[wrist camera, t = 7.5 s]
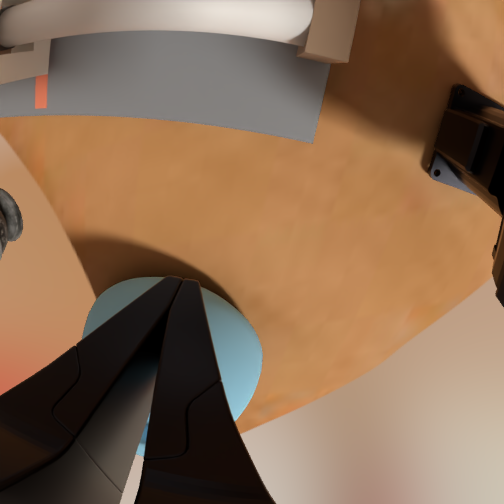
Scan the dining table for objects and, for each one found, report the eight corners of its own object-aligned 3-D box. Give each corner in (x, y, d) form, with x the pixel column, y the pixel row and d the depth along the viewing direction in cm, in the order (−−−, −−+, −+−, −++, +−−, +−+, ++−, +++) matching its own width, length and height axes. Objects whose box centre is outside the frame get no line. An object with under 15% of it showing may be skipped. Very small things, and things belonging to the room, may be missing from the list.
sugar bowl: (298, 313, 25) (303, 452, 15) (220, 396, 32) (205, 493, 23) (118, 230, 22) (33, 351, 12) (90, 341, 29) (47, 434, 20)
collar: (61, -22, 10) (-25, -34, 4) (48, 74, 14) (-41, 96, 8) (37, -15, 10) (-47, -20, 4) (25, 76, 14) (-61, 101, 8)
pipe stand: (348, -46, 11) (380, -88, 6) (310, 138, 17) (326, 174, 12) (20, -33, 10) (-39, -38, 5) (5, 113, 17) (-55, 140, 11)
